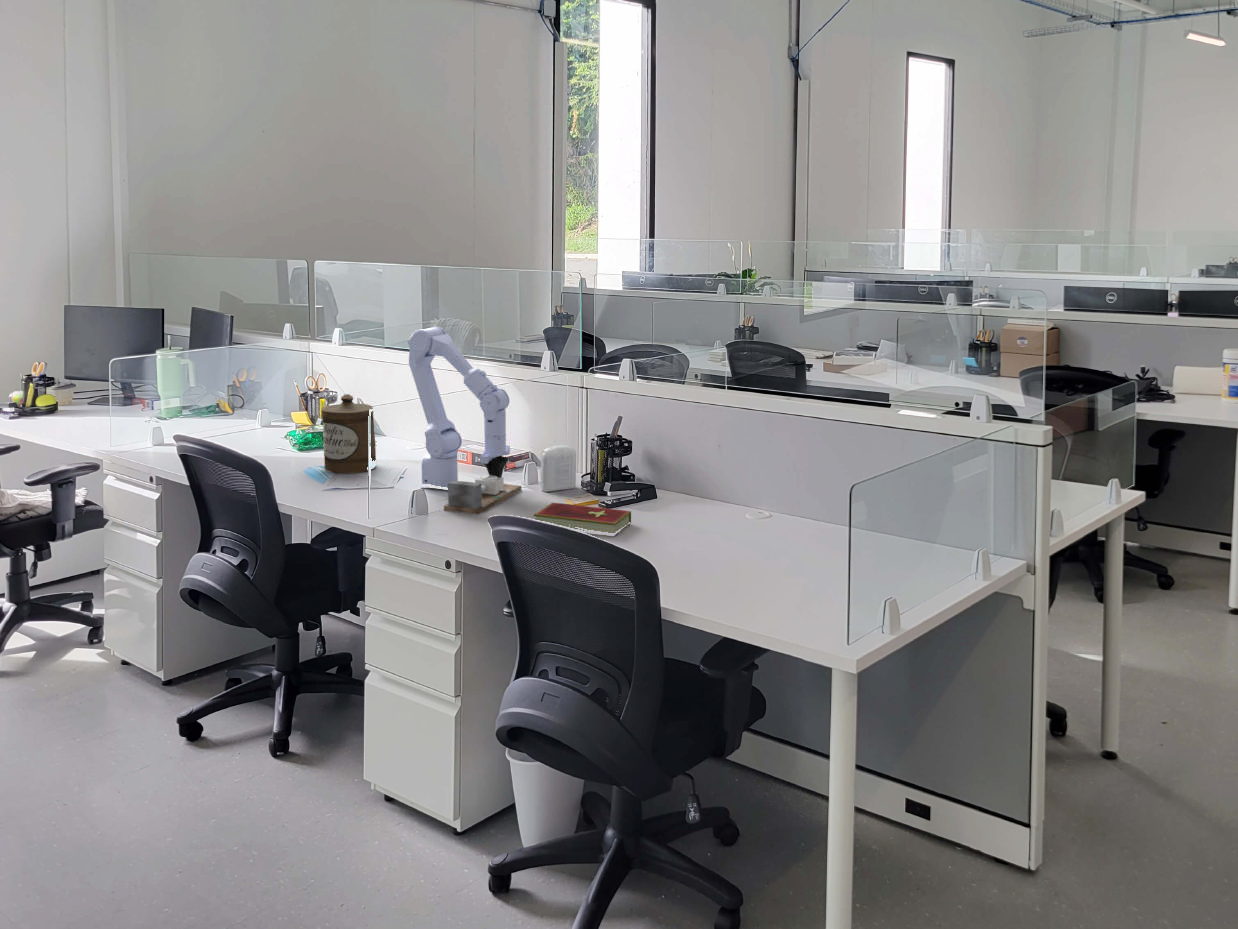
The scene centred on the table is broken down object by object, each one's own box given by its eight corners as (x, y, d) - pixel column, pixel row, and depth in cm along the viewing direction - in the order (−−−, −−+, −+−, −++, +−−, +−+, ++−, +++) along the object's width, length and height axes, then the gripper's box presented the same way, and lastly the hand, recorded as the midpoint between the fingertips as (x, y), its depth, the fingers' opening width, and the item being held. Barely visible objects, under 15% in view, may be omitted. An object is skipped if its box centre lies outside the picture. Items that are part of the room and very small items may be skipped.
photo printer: (570, 485, 304) (570, 442, 301) (578, 488, 301) (578, 445, 298) (538, 489, 298) (538, 446, 296) (546, 493, 295) (546, 449, 292)
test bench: (443, 510, 277) (443, 483, 275) (488, 486, 301) (488, 461, 299) (479, 514, 274) (478, 487, 272) (521, 490, 298) (521, 464, 296)
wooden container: (314, 469, 317) (310, 395, 312) (349, 459, 329) (346, 388, 324) (352, 476, 310) (348, 400, 305) (386, 466, 322) (384, 393, 317)
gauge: (470, 495, 286) (470, 480, 285) (483, 488, 293) (483, 473, 292) (496, 498, 284) (496, 483, 283) (509, 490, 291) (509, 476, 290)
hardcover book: (552, 516, 274) (552, 500, 273) (631, 525, 268) (631, 509, 267) (533, 529, 263) (533, 513, 262) (614, 539, 257) (615, 522, 256)
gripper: (497, 441, 282) (497, 491, 285) (519, 431, 296) (520, 479, 299) (472, 439, 284) (473, 488, 288) (496, 428, 298) (496, 476, 301)
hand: (495, 483), depth 293 cm, fingers closed
